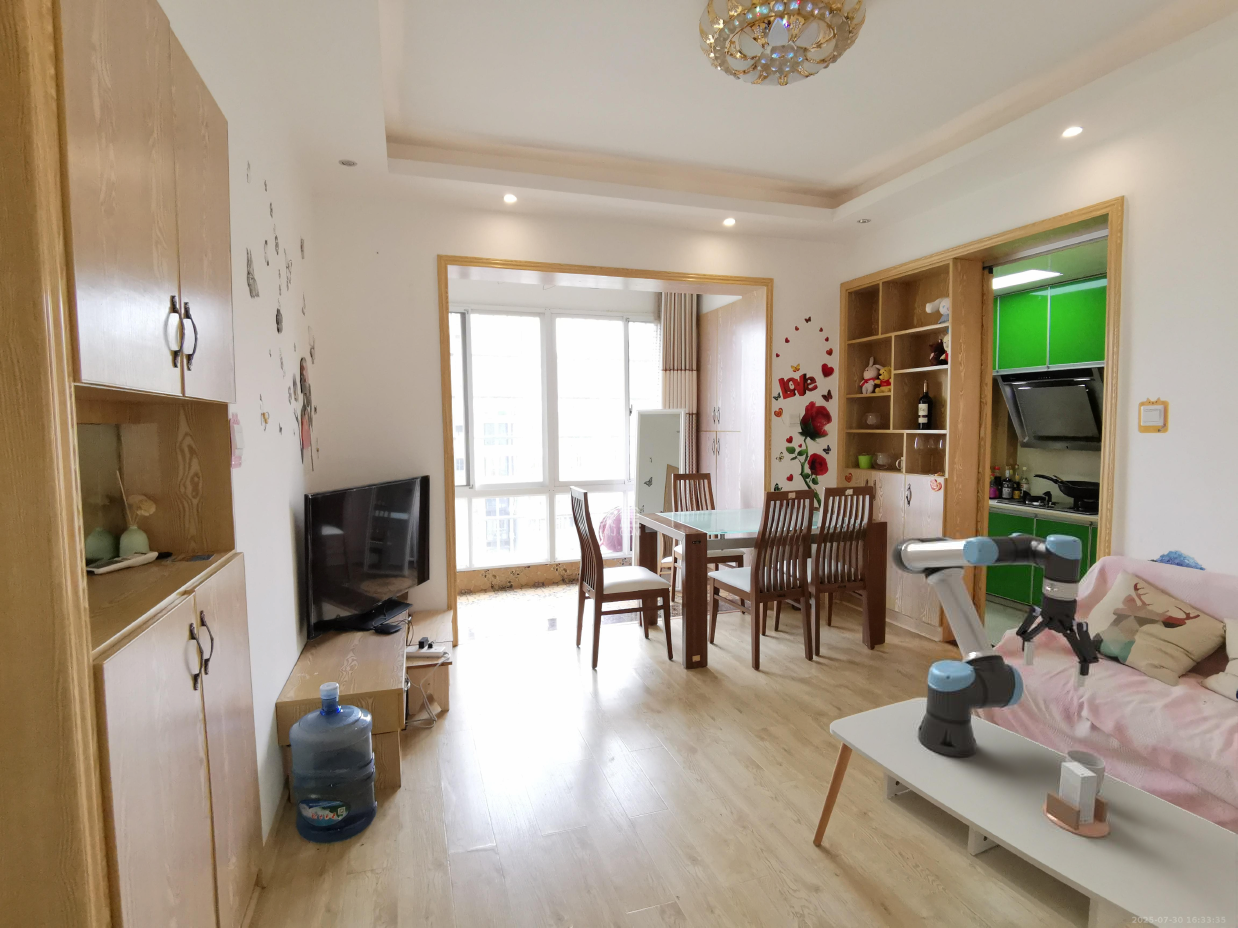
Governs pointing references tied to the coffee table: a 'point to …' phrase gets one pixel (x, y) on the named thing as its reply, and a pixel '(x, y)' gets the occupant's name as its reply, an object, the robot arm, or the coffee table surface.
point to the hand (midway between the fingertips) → (1052, 675)
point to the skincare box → (1079, 789)
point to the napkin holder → (1077, 816)
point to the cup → (1088, 764)
